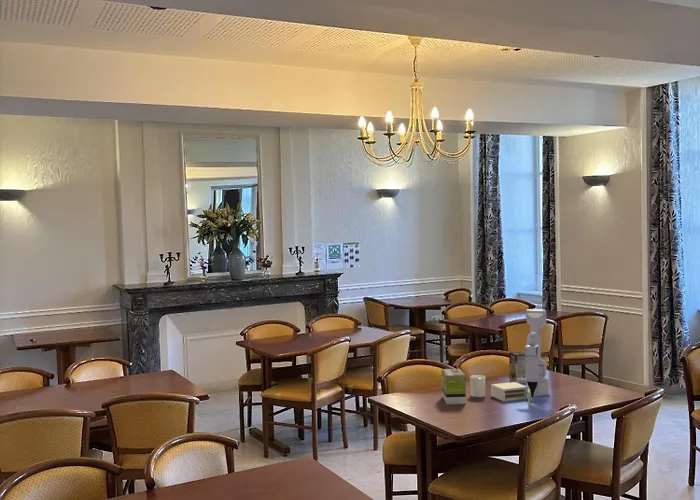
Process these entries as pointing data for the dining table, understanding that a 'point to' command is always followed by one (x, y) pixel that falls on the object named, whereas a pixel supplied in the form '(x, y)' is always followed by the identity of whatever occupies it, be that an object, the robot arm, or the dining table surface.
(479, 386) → the white cup
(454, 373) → the tea box
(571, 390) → the dining table surface
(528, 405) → the door
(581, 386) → the dining table surface
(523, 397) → the cabinet
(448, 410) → the dining table surface
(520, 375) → the coffee box
